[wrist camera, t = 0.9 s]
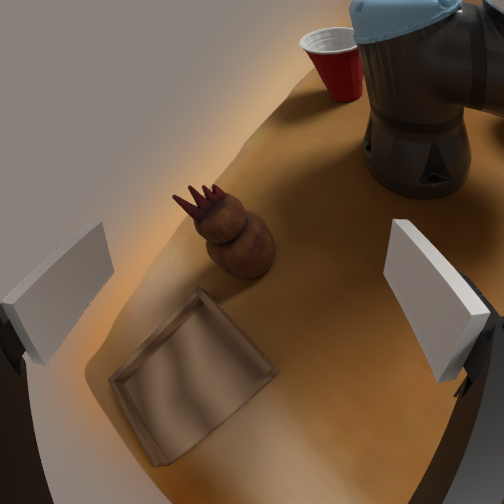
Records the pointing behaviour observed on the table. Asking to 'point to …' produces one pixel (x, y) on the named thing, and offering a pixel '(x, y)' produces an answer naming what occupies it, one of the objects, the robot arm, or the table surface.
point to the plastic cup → (336, 61)
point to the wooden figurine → (231, 232)
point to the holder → (188, 378)
